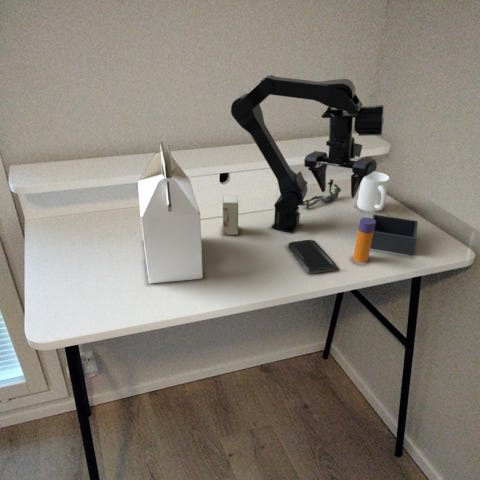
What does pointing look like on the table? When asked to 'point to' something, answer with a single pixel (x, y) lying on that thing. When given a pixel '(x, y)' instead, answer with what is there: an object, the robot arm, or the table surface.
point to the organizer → (394, 234)
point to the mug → (373, 192)
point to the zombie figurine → (324, 198)
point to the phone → (311, 256)
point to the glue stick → (364, 239)
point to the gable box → (169, 221)
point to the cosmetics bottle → (230, 214)
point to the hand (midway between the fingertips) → (338, 194)
